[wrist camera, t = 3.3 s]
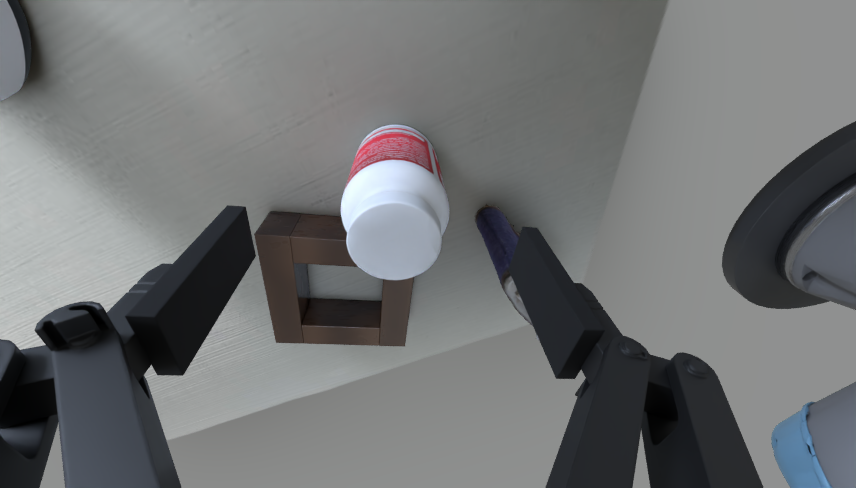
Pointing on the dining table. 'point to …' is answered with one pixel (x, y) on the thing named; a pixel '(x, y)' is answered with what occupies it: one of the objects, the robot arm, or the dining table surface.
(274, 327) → the socket base
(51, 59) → the dining table surface
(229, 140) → the dining table surface
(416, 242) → the pill bottle
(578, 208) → the dining table surface
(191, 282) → the robot arm
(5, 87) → the spread jar
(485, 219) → the flask
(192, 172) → the dining table surface
